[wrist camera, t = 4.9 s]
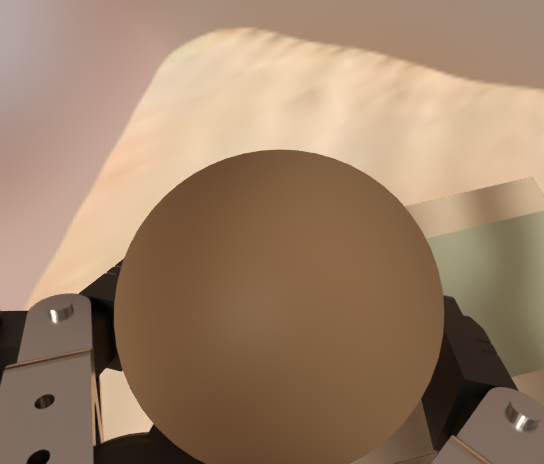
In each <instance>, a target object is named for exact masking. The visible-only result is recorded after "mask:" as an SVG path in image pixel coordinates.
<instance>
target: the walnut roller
mask: <svg viewBox="0 0 544 464" xmlns="http://www.w3.org/2000/svg"><path fill="white" fill-rule="evenodd" d="M443 328H444V301H443V289H442V285H441V280H440V275H439V271H438V267H437V264H436V261H435V259H434V256H433V253H432V250H431V248H430V246H429V244H428V242H427V240H426V238H425V236H424V234H423V232H422V230H421V229H420V227H419V226H418V224H417V223H416V221H415V220H414V218H413V217H412V215H411V214H410V213H409V212H408V210H407V209H406V208H405V207H404V206H403V205H402V203H401V202H400V201H399V200H398V199H397V198H396V197H395V196H394V195H393V194H392V193H390V192H389V191H388V190H387V189H386V188H385V187H384V186H383V185H381V184H380V183H378V182H377V181H376V180H374V179H373V178H371V177H370V176H369V175H367V174H365V173H364V172H362V171H360V170H358V169H356V168H354V167H352V166H351V165H348V164H346V163H343V162H341V161H338V160H336V159H333V158H330V157H326V156H323V155H319V154H316V153H309V152H303V151H296V150H265V151H257V152H251V153H245V154H241V155H238V156H234V157H231V158H227V159H224V160H222V161H219V162H217V163H215V164H212V165H210V166H208V167H206V168H204V169H202V170H200V171H198V172H197V173H195V174H193V175H192V176H190V177H189V178H187V179H186V180H184V181H183V182H181V183H180V184H179V185H177V186H176V187H175V188H174V189H173V190H172V191H170V192H169V193H168V194H167V195H166V196H165V197H164V198H163V199H162V200H161V201H160V202H159V203H158V204H157V205H156V206H155V208H154V209H153V210H152V211H151V212H150V213H149V215H148V216H147V218H146V219H145V220H144V222H143V223H142V225H141V226H140V227H139V229H138V231H137V233H136V235H135V236H134V238H133V240H132V242H131V244H130V246H129V248H128V251H127V253H126V256H125V258H124V261H123V263H122V267H121V270H120V274H119V278H118V281H117V288H116V294H115V301H114V330H115V338H116V346H117V350H118V354H119V358H120V362H121V366H122V369H123V372H124V374H125V377H126V379H127V382H128V384H129V386H130V389H131V391H132V392H133V394H134V396H135V398H136V399H137V401H138V403H139V404H140V406H141V408H142V409H143V411H144V412H145V413H146V415H147V416H148V417H149V418H150V420H151V421H152V422H153V423H154V425H155V426H156V427H157V428H158V429H159V430H160V431H161V432H162V433H163V434H164V435H165V436H166V437H167V438H168V439H170V440H171V441H172V442H173V443H174V444H175V445H176V446H178V447H179V448H181V449H182V450H184V451H185V452H186V453H188V454H189V455H191V456H192V457H194V458H195V459H197V460H199V461H201V462H203V463H206V464H351V463H352V462H354V461H356V460H358V459H360V458H362V457H364V456H366V455H367V454H369V453H370V452H371V451H373V450H374V449H375V448H377V447H378V446H379V445H381V444H382V443H383V442H385V441H386V440H387V439H388V438H389V437H390V436H391V435H392V434H393V433H394V432H395V431H396V430H397V429H398V428H399V427H400V426H401V425H402V424H403V423H404V422H405V421H406V419H407V418H408V417H409V415H410V414H411V413H412V411H413V410H414V409H415V407H416V406H417V404H418V403H419V402H420V400H421V398H422V396H423V394H424V392H425V390H426V388H427V386H428V384H429V382H430V381H431V378H432V375H433V372H434V369H435V366H436V364H437V361H438V358H439V353H440V348H441V343H442V338H443Z"/></svg>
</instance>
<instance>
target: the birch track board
mask: <svg viewBox="0 0 544 464" xmlns="http://www.w3.org/2000/svg"><path fill="white" fill-rule="evenodd" d="M405 208H406V209H407V210H408V212H409V213H410V214H411V215H412V217H413V218H414V220H415V221H416V223H417V224H418V226H419V227H420V229H421V230H422V232H423V234H424V236H425V238H426V240H427V242H428V244H429V246H430V248H431V250H432V253H433V256H434V259H435V261H436V264H437V267H438V271H439V275H440V280H441V285H442V289H443V295H446V296H451V297H454V299H455V300H456V302H457V304H458V306H459V308H460V310H461V312H462V314H463V315H465V316H470V317H471V318H472V319H473V320H474V321H475V322H477V323H478V324H479V325H480V326H481V327H482V328H483V329H484V330H485V332H486V334H487V336H488V337H489V339H490V341H491V344H492V345H493V346H494V348H495V350H496V352H497V355H498V356H499V357H500V359H501V360H502V362H503V364H504V366H505V367H506V369H507V371H508V373H509V374H510V376H511V378H512V380H513V381H514V383H515V385H516V387H517V388H518V390H519V391H520V392H522V393H524V394H526V395H528V396H530V397H532V398H533V399H535V400H537V401H538V402H539V403H541V404H542V405H543V406H544V195H543V193H542V191H541V190H540V188H539V186H538V185H537V183H536V181H535V180H534V178H533V177H529V178H525V179H521V180H516V181H512V182H508V183H504V184H499V185H495V186H491V187H487V188H482V189H478V190H474V191H470V192H465V193H461V194H457V195H453V196H448V197H444V198H440V199H436V200H431V201H427V202H423V203H419V204H414V205H410V206H406V207H405ZM437 452H440V451H436V450H433V446H432V442H431V438H430V434H429V430H428V425H427V421H426V417H425V413H424V409H423V405H422V400H420V402H419V403H418V404H417V406H416V407H415V409H414V410H413V411H412V413H411V414H410V415H409V417H408V418H407V419H406V421H405V422H404V423H403V424H402V425H401V426H400V427H399V428H398V429H397V430H396V431H395V432H394V433H393V434H392V435H391V436H390V437H389V438H388V439H387V440H386V441H385V442H383V443H382V444H381V445H379V446H378V447H377V448H375V449H374V450H373V451H371V452H370V453H369V454H367V455H366V456H364V457H362V458H360V459H358V460H356V461H354V462H352V463H351V464H394V463H398V462H402V461H406V460H410V459H414V458H418V457H421V456H425V455H429V454H433V453H437Z"/></svg>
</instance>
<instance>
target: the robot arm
mask: <svg viewBox="0 0 544 464" xmlns="http://www.w3.org/2000/svg"><path fill="white" fill-rule="evenodd" d="M123 261H124V259H123V260H121V261H120V262H119V263H118V264H116V265H115V267H112V268H111V269H110V270H108V271H107V273H105V274H103V275H102V276H101V277H99V278H98V279H97V280H96V281H94V282H93V283H92V284H90V285H89V286H88V287H86V288H85V289H84V290H83V291H81V292H80V293H79V294H59V295H55V296H51V297H48V298H46V299H43V300H41V301H39V302H38V303H36V304H35V305H33V306H32V307H31V308H30V310H29V311H0V464H206V463H203V462H201V461H199V460H197V459H195V458H194V457H192V456H191V455H189V454H188V453H186V452H185V451H184V450H182V449H181V448H179V447H178V446H176V445H175V444H174V443H173V442H172V441H171V440H170V439H168V438H167V437H166V436H165V435H164V434H163V433H162V432H161V431H160V430H159V429H158V428H157V427H156V426H155V425H154V424H153V426H152V428H151V429H150V431H149V432H142V433H134V434H128V435H124V436H120V437H117V438H114V439H111V440H108V441H105V442H104V435H103V417H102V399H101V382H100V374H101V373H102V372H103V371H104V369H105V368H109V369H113V370H117V371H122V370H123V369H122V366H121V362H120V358H119V354H118V350H117V346H116V338H115V330H114V301H115V294H116V288H117V281H118V278H119V274H120V270H121V267H122V263H123ZM443 301H444V328H443V338H442V343H441V348H440V353H439V358H438V361H437V364H436V366H435V369H434V372H433V375H432V378H431V381H430V382H429V384H428V386H427V388H426V390H425V392H424V394H423V396H422V398H421V400H422V405H423V409H424V413H425V417H426V421H427V425H428V430H429V434H430V438H431V442H432V446H433V450H436V451H440V452H439V454H438V455H437V456H436V458H435V459H434V460H433V462H432V463H431V464H544V406H543V405H542V404H541V403H539V402H538V401H537V400H535V399H533V398H532V397H530V396H528V395H526V394H524V393H522V392H520V391H519V390H518V388H517V387H516V385H515V383H514V381H513V380H512V378H511V376H510V374H509V373H508V371H507V369H506V367H505V366H504V364H503V362H502V360H501V359H500V357H499V356H498V355H497V352H496V350H495V348H494V346H493V345H492V344H491V341H490V339H489V337H488V336H487V334H486V332H485V330H484V329H483V328H482V327H481V326H480V325H479V324H478V323H477V322H475V321H474V320H473V319H472V318H471V317H470V316H465V315H463V314H462V312H461V310H460V308H459V306H458V304H457V302H456V300H455V299H454V297H451V296H446V295H443Z"/></svg>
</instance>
